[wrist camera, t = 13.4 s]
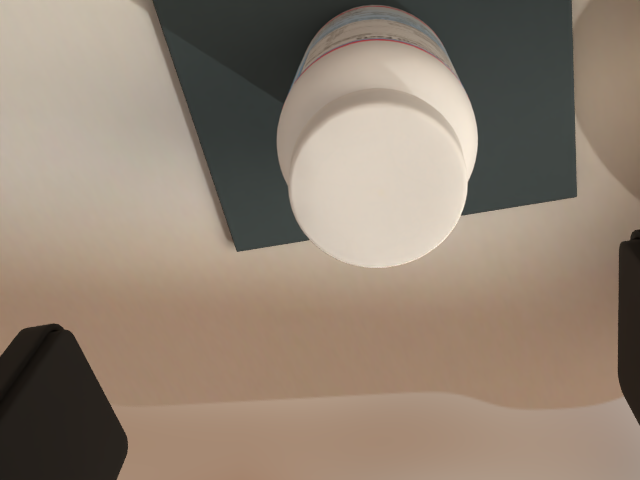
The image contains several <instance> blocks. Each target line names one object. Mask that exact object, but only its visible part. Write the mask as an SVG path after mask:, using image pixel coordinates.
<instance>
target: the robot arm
mask: <svg viewBox="0 0 640 480" xmlns="http://www.w3.org/2000/svg"><path fill="white" fill-rule="evenodd" d="M618 378H619V383H620V387H621V390H622V392H623V395H624V397H625V399H626V400H627V402H628V404H629V406H630V408H631V410H632V412H633V414H634V416H635V418H636V419H637V421H638V423H639V425H640V230H635V231H634V232H632V235H631V239H630V241H623V242H622V243H621V244H620V247H619V310H618ZM127 450H128V441H127V436H126V434H125V432H124V430H123V428H122V426H121V424H120V422H119V420H118V418H117V417H116V415H115V413H114V411H113V409H112V407H111V405H110V403H109V401H108V399H107V398H106V396H105V394H104V392H103V390H102V388H101V386H100V384H99V382H98V380H97V379H96V377H95V375H94V373H93V371H92V369H91V367H90V365H89V363H88V361H87V359H86V358H85V356H84V354H83V352H82V350H81V348H80V346H79V344H78V342H77V340H76V339H75V337H74V335H73V334H72V333H71V332H70V331H69V330H64V329H63V327H61V326H60V325H59V324H48V325H42V326H36V327H29V328H25V329H23V330H21V331H20V332H19V333H18V335H17V336H16V337H15V338H14V340H13V341H12V342H11V344H10V345H9V346H8V347H7V349H6V350H5V351H4V353H3V354H2V355H1V356H0V480H117V477H118V475H119V472H120V470H121V468H122V465H123V463H124V460H125V458H126V455H127Z"/></svg>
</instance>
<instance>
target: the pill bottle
mask: <svg viewBox="0 0 640 480" xmlns="http://www.w3.org/2000/svg"><path fill="white" fill-rule="evenodd" d="M477 147H478V133H477V125H476V120H475V115H474V112H473V109H472V106H471V102H470V100H469V98H468V95H467V93H466V91H465V89H464V87H463V85H462V83H461V81H460V79H459V77H458V75H457V73H456V71H455V69H454V67H453V65H452V63H451V61H450V58H449V56H448V54H447V52H446V50H445V48H444V46H443V44H442V42H441V41H440V39H439V38H438V37H437V35H436V34H435V33H434V32H433V30H432V29H431V28H430V27H429V26H428V25H426V24H425V23H424V22H423V21H421V20H420V19H418V18H417V17H415V16H414V15H412V14H410V13H407V12H405V11H403V10H400V9H397V8H394V7H390V6H384V5H367V6H360V7H356V8H352V9H350V10H347V11H345V12H343V13H341V14H339V15H337V16H336V17H334V18H333V19H331V20H330V21H329V22H327V23H326V24H325V25H324V26H323V27H322V28H321V29H320V30H319V31H318V33H317V34H316V35H315V37H314V38H313V39H312V41H311V43H310V44H309V46H308V48H307V50H306V52H305V55H304V57H303V59H302V61H301V64H300V66H299V68H298V70H297V73H296V76H295V78H294V81H293V83H292V85H291V88H290V90H289V93H288V95H287V98H286V100H285V103H284V105H283V108H282V112H281V115H280V119H279V124H278V128H277V153H278V159H279V164H280V168H281V171H282V174H283V176H284V179H285V181H286V183H287V185H288V192H289V199H290V204H291V208H292V211H293V213H294V216H295V218H296V220H297V222H298V224H299V226H300V228H301V229H302V231H303V232H304V234H305V235H306V236H307V237H308V238H309V240H310V241H311V242H312V243H313V244H315V245H316V246H317V247H318V248H319V249H321V250H322V251H323V252H325V253H326V254H328V255H330V256H331V257H333V258H335V259H337V260H340V261H342V262H345V263H348V264H351V265H355V266H360V267H367V268H384V267H393V266H398V265H402V264H405V263H408V262H411V261H414V260H416V259H418V258H420V257H422V256H424V255H426V254H428V253H429V252H430V251H432V250H433V249H434V248H436V247H437V246H438V245H439V244H440V243H441V242H442V241H443V240H445V239H446V237H447V236H448V235H449V234H450V233H451V231H452V230H453V229H454V227H455V225H456V223H457V222H458V220H459V218H460V216H461V213H462V211H463V208H464V205H465V201H466V196H467V185H468V180H469V178H470V176H471V173H472V171H473V168H474V164H475V161H476V155H477Z"/></svg>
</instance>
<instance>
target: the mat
mask: <svg viewBox="0 0 640 480" xmlns="http://www.w3.org/2000/svg"><path fill="white" fill-rule="evenodd" d="M153 3H154V6H155V9H156V12H157V15H158V18H159V21H160V24H161V27H162V30H163V33H164V36H165V39H166V42H167V45H168V48H169V51H170V54H171V57H172V60H173V63H174V66H175V69H176V72H177V75H178V78H179V81H180V84H181V87H182V90H183V92H184V95H185V98H186V101H187V104H188V107H189V110H190V113H191V116H192V119H193V122H194V125H195V128H196V131H197V134H198V137H199V140H200V143H201V146H202V149H203V152H204V155H205V158H206V161H207V164H208V167H209V170H210V173H211V176H212V179H213V182H214V185H215V188H216V191H217V194H218V197H219V200H220V203H221V206H222V209H223V212H224V215H225V218H226V220H227V223H228V226H229V229H230V232H231V235H232V238H233V241H234V244H235V247H236V250H237V252H239V251H245V250H251V249H257V248H264V247H270V246H276V245H282V244H288V243H295V242H301V241H307V240H309V238H308V237H307V236H306V235H305V234H304V232H303V231H302V229H301V228H300V226H299V224H298V222H297V220H296V218H295V216H294V213H293V211H292V208H291V204H290V199H289V192H288V185H287V183H286V181H285V179H284V176H283V174H282V171H281V168H280V164H279V159H278V153H277V128H278V124H279V119H280V115H281V112H282V108H283V105H284V103H285V100H286V98H287V95H288V93H289V90H290V88H291V85H292V83H293V81H294V78H295V76H296V73H297V70H298V68H299V66H300V64H301V61H302V59H303V57H304V55H305V52H306V50H307V48H308V46H309V44H310V43H311V41H312V39H313V38H314V37H315V35H316V34H317V33H318V31H319V30H320V29H321V28H322V27H323V26H324V25H325V24H326V23H327V22H329V21H330V20H331V19H333V18H334V17H336V16H337V15H339V14H341V13H343V12H345V11H347V10H350V9H352V8H356V7H360V6H367V5H384V6H390V7H394V8H397V9H400V10H403V11H405V12H407V13H410V14H412V15H414V16H415V17H417V18H418V19H420V20H421V21H423V22H424V23H425V24H426V25H428V26H429V27H430V28H431V29H432V30H433V32H434V33H435V34H436V35H437V37H438V38H439V39H440V41H441V42H442V44H443V46H444V48H445V50H446V52H447V54H448V56H449V58H450V61H451V63H452V65H453V67H454V69H455V71H456V73H457V75H458V77H459V79H460V81H461V83H462V85H463V87H464V89H465V91H466V93H467V95H468V98H469V100H470V102H471V106H472V109H473V112H474V115H475V120H476V125H477V133H478V147H477V155H476V161H475V164H474V168H473V171H472V173H471V176H470V178H469V180H468V185H467V196H466V201H465V205H464V208H463V211H462V213H461V216H462V215H468V214H474V213H481V212H487V211H493V210H499V209H505V208H512V207H518V206H524V205H530V204H536V203H543V202H549V201H555V200H561V199H567V198H574V197H577V182H576V145H575V108H574V71H573V35H572V0H153Z"/></svg>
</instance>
